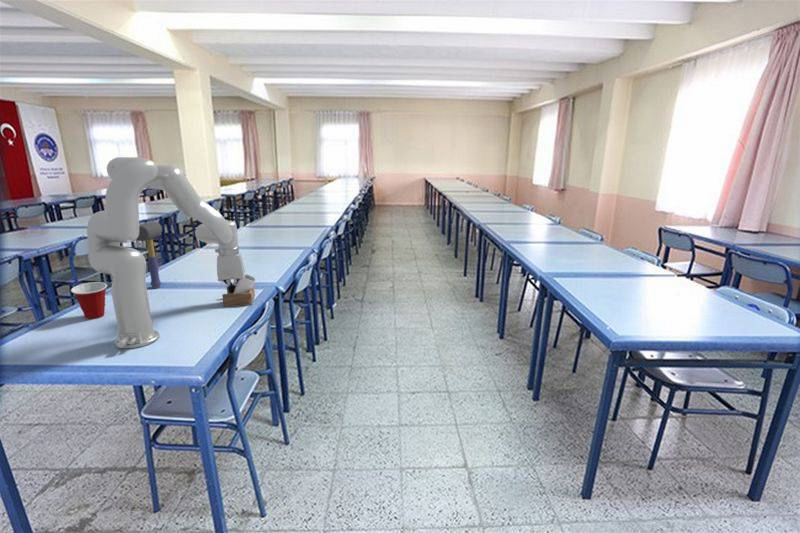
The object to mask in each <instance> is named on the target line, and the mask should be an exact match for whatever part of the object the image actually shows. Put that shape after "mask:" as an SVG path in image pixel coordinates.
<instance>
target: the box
mask: <svg viewBox="0 0 800 533" xmlns="http://www.w3.org/2000/svg"><path fill="white" fill-rule="evenodd" d="M226 292H227V293H222V303H223V307H233V306H232V305H239V306H252V305H253V303H254V300H255V296H256V294H255V293H256V290H255V284H254V285H253V287H252V289H251V290H250V291H249V293H233V294H231V292H229V287H228V285H227V286H226Z"/></svg>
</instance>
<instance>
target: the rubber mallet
mask: <svg viewBox="0 0 800 533" xmlns="http://www.w3.org/2000/svg"><path fill="white" fill-rule="evenodd" d="M162 232H163V227H162V225H161V224H160V222H157V221H153V220H152V221H148V222H144V223H140V224H139V236H138V237H137V239H136V240H137V241H138V242H139V241H140V242H146V246H147V248H146V249H147V256H148V257H147V266H148V269H149V274H150V286H151V287H152V288H153V289H158V288H160V287H161V285H162V281H161V280H160V274H159V263H158V259H157V256H156V253H155V252H156V251H155V246H154V240H153V239H155V238H157V237H160V236H161V235H162Z"/></svg>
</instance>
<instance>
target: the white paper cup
mask: <svg viewBox="0 0 800 533" xmlns="http://www.w3.org/2000/svg"><path fill="white" fill-rule="evenodd" d="M245 277H246V278H245ZM245 277H243V278H241V279H239V280H238V282H237V285H236V287H235V291H234V293H249V291H250V290H251V289H252V287H253V285H254V286H255V284H256V282H257V279H256V278H255V277H254V276H252V275H251V274H248V273H245Z"/></svg>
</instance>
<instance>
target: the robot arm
mask: <svg viewBox="0 0 800 533" xmlns="http://www.w3.org/2000/svg"><path fill="white" fill-rule="evenodd" d="M106 173H107V176H108V177H109V178H110V179H111V180H110V181H109V184H108V186H106V190H105V210H99V211H97V212H94V214H92V215H91V216H90V217H89V218H88V221H87V225H86V226H87V227H86V238H87V252H88V262H89V264H90V266H91V267H92V268H93V269H94V270H95V271H97V272H98V273H100V274H104V275H109V276H112V281H111V282H112V283H111V297H112V302H113V307H114V313H115V314H114V315H115V318H116V319H115V320H116V324H117V325H116V326H117V329H118V335H119V336H118V337H116V338H115V340H114V345H115V347H117V348H120V349H135V348H141V347H145V346H148V345H150V344H152V343H154V342H156V341H158V339H159V338H160V336H161V335H160V332H159V331H158V330H156V329H154V326H153V321H152V319H153V318H152V314H151V307H150V300H149V294H148V289H147V280H146V279H147V278H146V277H147V275H146V274H147V273H146V272H147V261H146V257H145V256H144V254H142V252H140V250H137V249H135V248H133V247H128V246H121V243H123V244H124V243H125V244H128V243H133V242H135V241H136V240H137V237H138V236H139V225H140V210H139V208H140V207H139V206H140V203H139V202H140V201H139V200H140V196H141V194H142V192H143V191H144V189H148V190H159V191H160V190H161V191H163V192H164V194H166V196H167V197H168V198H169V199H170V200H171V202H172V203H173V205H174V206H175V207H176V209H177V210H178V211H179V212H180V213H182V214H184V215H185V216H186V217H189V218H191V219H193V220H196V221H198V222H200V223H201V224H199V225H198V226H197V227H196V228H195V232H194V234H195V237H196V239H197V240H199V241H200V242H201V243H207V244H215V245H218V248H215V249H214V252H215V253H218V254H217V255H216V256H217V257H216V273H217V274H216V275H217V281H218V282H221V283H224V284H226V285H227V286H228V287H229V292H231V294H233V293H234V291H235V287H236V285H237V282H238V280H239V279H241V278H243V277H245V274H246V273H245V265H244V260H243V259H244V258H243V256H242V253H240V248H239V239H238V237H239V236H238V228H237V223H236V222H235V221H234V220H226V219H225V217H224V216H223V215H222V214H221V213H220V212H219V211H218V210H217V209H216V208H214V207H213V206H212V205H210V204H209V203H208V202H206V201H205V200H203V198H201V196H200V195H199V194H198V192H197V191H196V189H195V188H194V187H193V184H191V182H190V181H189V180H188V177H186V176H185V174H184V172H183V171H182V170H181V169H180V168H178V167H177V166H174V165H167V164H165V165H164V164H156V163H155V162H154V161H153V160H151V159H148V158H145V157H138V156H137V157H136V156H135V157H134V156H133V157H128V156H120V157H118V156H117V157H114V158H112V159H111V160H109V161H108V163H107V165H106ZM245 278H246V277H245ZM232 280H233V283H232Z"/></svg>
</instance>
